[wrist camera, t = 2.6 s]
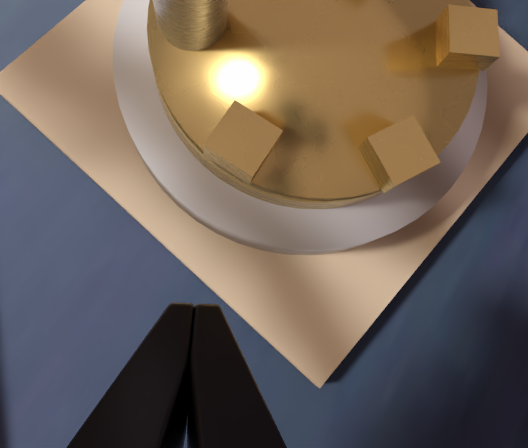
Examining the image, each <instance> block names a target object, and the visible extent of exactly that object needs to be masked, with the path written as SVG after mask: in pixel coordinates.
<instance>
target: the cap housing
mask: <svg viewBox="0 0 528 448" xmlns="http://www.w3.org/2000/svg"><path fill="white" fill-rule="evenodd" d="M149 2H150V0H86V1H84V2H83V3H82V4H81V5H80V6H78V7H77V8H76V9H75V10H74V11H72V12H71V13H70V14H69V15H68V16H67V17H65V18H64V19H63V20H62V21H61V22H59V23H58V24H57V25H56V26H55V27H53V28H52V29H51V30H50V31H49V32H47V33H46V34H45V35H44V36H43V37H41V38H40V39H39V40H38V41H37V42H36V43H34V44H33V45H32V46H31V47H30V48H28V49H27V50H26V51H25V52H24V53H22V54H21V55H20V56H19V57H18V58H16V59H15V60H14V61H13V62H12V63H10V64H9V65H8V66H7V67H6V68H5V69H3V70H2V71H1V72H0V95H1V96H2V97H3V98H4V99H5V100H7V101H8V102H9V103H10V104H11V105H12V106H13V107H14V108H15V109H16V110H17V111H18V112H20V113H21V114H22V115H23V116H24V117H25V118H26V119H27V120H28V121H29V122H30V123H31V124H33V125H34V126H35V127H36V128H37V129H38V130H39V131H40V132H41V133H42V134H43V135H44V136H46V137H47V138H48V139H49V140H50V141H51V142H52V143H53V144H54V145H55V146H56V147H57V148H59V149H60V150H61V151H62V152H63V153H64V154H65V155H66V156H67V157H68V158H69V159H70V160H72V161H73V162H74V163H75V164H76V165H77V166H78V167H79V168H80V169H81V170H82V171H83V172H85V173H86V174H87V175H88V176H89V177H90V178H91V179H92V180H93V181H94V182H95V183H96V184H98V185H99V186H100V187H101V188H102V189H103V190H104V191H105V192H106V193H107V194H108V195H109V196H111V197H112V198H113V199H114V200H115V201H116V202H117V203H118V204H119V205H120V206H121V207H122V208H124V209H125V210H126V211H127V212H128V213H129V214H130V215H131V216H132V217H133V218H134V219H135V220H137V221H138V222H139V223H140V224H141V225H142V226H143V227H144V228H145V229H146V230H147V231H148V232H150V233H151V234H152V235H153V236H154V237H155V238H156V239H157V240H158V241H159V242H160V243H161V244H163V245H164V246H165V247H166V248H167V249H168V250H169V251H170V252H171V253H172V254H173V255H174V256H175V257H177V258H178V259H179V260H180V261H181V262H182V263H183V264H184V265H185V266H186V267H187V268H188V269H190V270H191V271H192V272H193V273H194V274H195V275H196V276H197V277H198V278H199V279H200V280H201V281H203V282H204V283H205V284H206V285H207V286H208V287H209V288H210V289H211V290H212V291H213V292H214V293H216V294H217V295H218V296H219V297H220V298H221V299H222V300H223V301H224V302H225V303H226V304H227V305H229V306H230V307H231V308H232V309H233V310H234V311H235V312H236V313H237V314H238V315H239V316H240V317H242V318H243V319H244V320H245V321H246V322H247V323H248V324H249V325H250V326H251V327H252V328H253V329H255V330H256V331H257V332H258V333H259V334H260V335H261V336H262V337H263V338H264V339H265V340H266V341H268V342H269V343H270V344H271V345H272V346H273V347H274V348H275V349H276V350H277V351H278V352H279V353H281V354H282V355H283V356H284V357H285V358H286V359H287V360H288V361H289V362H290V363H291V364H292V365H294V366H295V367H296V368H297V369H298V370H299V371H300V372H301V373H302V374H303V375H304V376H305V377H307V378H308V379H309V380H310V381H311V382H312V383H313V384H314V385H316V386H317V387H318V388H320V387H321V386H322V385H323V384H324V383H325V381H326V380H327V379H328V378H329V376H330V375H331V374H332V373H333V371H334V370H335V369H336V368H337V367H338V365H339V364H340V363H341V362H342V360H343V359H344V358H345V357H346V355H347V354H348V353H349V352H350V351H351V349H352V348H353V347H354V346H355V344H356V343H357V342H358V341H359V339H360V338H361V337H362V336H363V335H364V333H365V332H366V331H367V330H368V328H369V327H370V326H371V325H372V323H373V322H374V321H375V320H376V319H377V317H378V316H379V315H380V314H381V312H382V311H383V310H384V309H385V307H386V306H387V305H388V304H389V303H390V301H391V300H392V299H393V298H394V296H395V295H396V294H397V293H398V291H399V290H400V289H401V288H402V287H403V285H404V284H405V283H406V282H407V280H408V279H409V278H410V277H411V275H412V274H413V273H414V272H415V271H416V269H417V268H418V267H419V266H420V264H421V263H422V262H423V261H424V259H425V258H426V257H427V256H428V255H429V253H430V252H431V251H432V250H433V248H434V247H435V246H436V245H437V243H438V242H439V241H440V240H441V239H442V237H443V236H444V235H445V234H446V232H447V231H448V230H449V229H450V227H451V226H452V225H453V224H454V223H455V221H456V220H457V219H458V218H459V216H460V215H461V214H462V213H463V211H464V210H465V209H466V208H467V207H468V205H469V204H470V203H471V202H472V200H473V199H474V198H475V197H476V195H477V194H478V193H479V192H480V191H481V189H482V188H483V187H484V186H485V184H486V183H487V182H488V181H489V179H490V178H491V177H492V176H493V175H494V173H495V172H496V171H497V170H498V168H499V167H500V166H501V165H502V163H503V162H504V161H505V160H506V159H507V157H508V156H509V155H510V154H511V152H512V151H513V150H514V149H515V147H516V146H517V145H518V144H519V143H520V141H521V140H522V139H523V138H524V136H525V135H526V134H527V133H528V51H526V50H525V49H524V48H523V47H522V46H521V45H520V44H518V43H517V42H516V41H515V40H514V39H513V38H512V37H510V36H509V35H508V34H507V33H506V32H505V31H504V30H503V29H501V28H500V27H499V26H498V31H499V49H500V57H499V58H498V59H497V60H496V61H495V62H494V63H492V64H491V65H490V66H489V67H488V68H487V69H485V70H484V71H479V76H478V81H477V86H476V91H475V95H474V98H473V100H472V103H471V106H470V109H469V112H468V114H467V115H466V117H465V119H464V121H463V123H462V125H461V127H460V129H459V130H458V131H457V133H456V134H455V136H454V137H453V138H452V140H451V141H450V142H449V144H448V145H447V146H446V147H445V148H444V149H443V150H442V151H441V152H440V153H439V154H438V155H437V157H438V158H439V160H440V162H441V163H439V164H437V165H436V166H434V167H433V168H431V169H429V170H428V171H426V172H424V173H422V174H420V175H418V176H416V177H415V178H413V179H411V180H409V181H407V182H405V183H403V184H401V185H399V186H397V187H395V188H393V189H391V190H390V191H388V192H386V193H382V194H380V195H378V196H376V197H374V198H371V199H368V200H366V201H363V202H361V203H357V204H353V205H349V206H344V207H340V208H330V209H320V210H318V209H297V208H291V207H285V206H279V205H275V204H272V203H269V202H265V201H262V200H259V199H256V198H254V197H252V196H249V195H247V194H245V193H243V192H241V191H238V190H237V189H235V188H233V187H232V186H230V185H228V184H227V183H225V182H224V181H222V180H220V179H219V178H218V177H216V176H215V175H214V174H213V173H211V172H210V171H209V170H208V169H206V168H205V167H204V166H203V165H202V164H201V163H200V162H199V161H198V160H197V159H196V158H195V157H194V156H193V155H192V154H191V153H190V152H189V150H188V149H187V148H186V146H185V145H184V144H183V142H182V141H181V140H180V138H179V137H178V136H177V134H176V132H175V131H174V129H173V127H172V125H171V123H170V121H169V120H168V118H167V116H166V113H165V111H164V108H163V105H162V103H161V100H160V98H159V94H158V89H157V85H156V81H155V76H154V72H153V67H152V63H151V58H150V54H149V48H148V36H147V19H148V6H149ZM470 3H471V6H472V7H476V6H475V5H474V4H473V3H472V2H471V1H470Z"/></svg>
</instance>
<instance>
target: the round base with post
mask: <svg viewBox="0 0 528 448" xmlns="http://www.w3.org/2000/svg"><path fill="white" fill-rule="evenodd" d="M147 36H148V48H149V54H150V58H151V63H152V67H153V72H154V76H155V81H156V85H157V89H158V94H159V98H160V100H161V103H162V105H163V108H164V111H165V113H166V116H167V118H168V120H169V121H170V123H171V125H172V127H173V129H174V131H175V132H176V134H177V136H178V137H179V138H180V140H181V141H182V142H183V144H184V145H185V146H186V148H187V149H188V150H189V152H190V153H191V154H192V155H193V156H194V157H195V158H196V159H197V160H198V161H199V162H200V163H201V164H202V165H203V166H204V167H205V168H206V169H208V170H209V171H210V172H211V173H213V174H214V175H215V176H216V177H218V178H219V179H220V180H222V181H224V182H225V183H227V184H228V185H230V186H232V187H233V188H235V189H237V190H238V191H241V192H243V193H245V194H247V195H249V196H252V197H254V198H256V199H259V200H262V201H265V202H269V203H272V204H275V205H279V206H285V207H291V208H297V209H318V210H320V209H330V208H340V207H344V206H349V205H353V204H357V203H361V202H363V201H366V200H368V199H371V198H374V197H376V196H378V195H380V194H382V193H386V192H388V191H390V190H391V189H393V188H395V187H397V186H399V185H401V184H403V183H405V182H407V181H409V180H411V179H413V178H415V177H416V176H418V175H420V174H422V173H424V172H426V171H428V170H429V169H431V168H433V167H434V166H436V165H437V164H439V163H441V162H440V160H439V158H438V157H437V155H438V154H439V153H440V152H441V151H442V150H443V149H444V148H445V147H446V146H447V145H448V144H449V142H450V141H451V140H452V138H453V137H454V136H455V134H456V133H457V131H458V130H459V129H460V127H461V125H462V123H463V121H464V119H465V117H466V115H467V114H468V112H469V109H470V106H471V103H472V100H473V98H474V95H475V91H476V86H477V81H478V76H479V71H484V70H485V69H487V68H488V67H489V66H490V65H491V64H492V63H494V62H495V61H496V60H497V59H498V58H499V57H500V49H499V31H498V14H497V10H495V9H486V8H477V7H472V6H471V3H470V0H150V2H149V6H148V19H147Z"/></svg>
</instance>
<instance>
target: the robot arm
mask: <svg viewBox="0 0 528 448" xmlns="http://www.w3.org/2000/svg"><path fill="white" fill-rule="evenodd" d="M187 417H188V421H187ZM186 426H187V448H287V447H286V445H285V443H284V441H283V439H282V437H281V434H280V432H279V430H278V428H277V426H276V424H275V422H274V420H273V418H272V415H271V413H270V411H269V409H268V407H267V405H266V403H265V401H264V399H263V396H262V394H261V392H260V390H259V388H258V386H257V384H256V382H255V379H254V377H253V375H252V373H251V371H250V369H249V367H248V365H247V363H246V360H245V358H244V356H243V354H242V352H241V350H240V348H239V346H238V344H237V341H236V339H235V337H234V335H233V333H232V331H231V329H230V327H229V324H228V322H227V320H226V318H225V316H224V314H223V312H222V310H221V308H220V307H219V306H218V305H217V304H197V305H196V306H195V308H194V305H193V304H192V303H171V304H169V305H168V307H167V308H166V309H165V311H164V312H163V314H162V315H161V316H160V318H159V319H158V321H157V322H156V323H155V325H154V326H153V328H152V329H151V330H150V332H149V333H148V335H147V336H146V337H145V339H144V340H143V341H142V343H141V344H140V346H139V347H138V348H137V350H136V351H135V353H134V354H133V355H132V357H131V358H130V360H129V361H128V362H127V364H126V365H125V367H124V368H123V369H122V371H121V372H120V374H119V375H118V376H117V378H116V379H115V381H114V382H113V383H112V385H111V386H110V388H109V389H108V390H107V392H106V393H105V395H104V396H103V397H102V399H101V400H100V402H99V403H98V404H97V406H96V407H95V409H94V410H93V411H92V413H91V414H90V415H89V417H88V418H87V420H86V421H85V422H84V424H83V425H82V427H81V428H80V429H79V431H78V432H77V434H76V435H75V436H74V438H73V439H72V441H71V442H70V443H69V445H68V446H67V448H183V446H184V440H185V434H186Z"/></svg>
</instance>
